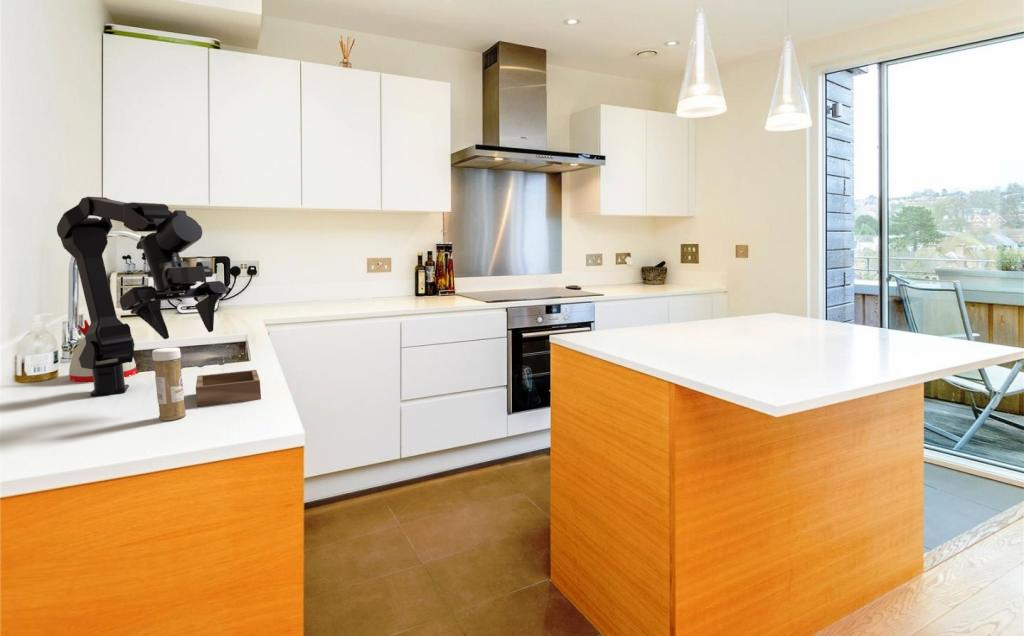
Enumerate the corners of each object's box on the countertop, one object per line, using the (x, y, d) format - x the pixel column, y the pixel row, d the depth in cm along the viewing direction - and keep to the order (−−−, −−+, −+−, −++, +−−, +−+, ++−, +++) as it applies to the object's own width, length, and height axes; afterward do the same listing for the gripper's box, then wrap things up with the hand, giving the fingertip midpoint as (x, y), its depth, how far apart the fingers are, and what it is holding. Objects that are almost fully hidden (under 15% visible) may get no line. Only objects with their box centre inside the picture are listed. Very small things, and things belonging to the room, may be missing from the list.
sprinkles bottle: (187, 418, 109) (180, 349, 108) (159, 423, 107) (152, 352, 105) (185, 412, 113) (179, 345, 111) (158, 416, 111) (151, 348, 109)
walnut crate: (198, 393, 128) (197, 375, 127) (257, 386, 133) (256, 369, 133) (197, 406, 117) (195, 387, 117) (261, 398, 123) (259, 380, 122)
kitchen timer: (75, 374, 149) (68, 317, 147) (138, 368, 155) (132, 313, 153) (65, 385, 137) (57, 323, 135) (134, 378, 143) (128, 319, 141)
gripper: (136, 247, 103) (164, 328, 102) (229, 245, 119) (254, 315, 118) (106, 270, 108) (133, 347, 107) (199, 265, 125) (223, 333, 124)
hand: (189, 335), depth 114 cm, fingers open, 9 cm apart
